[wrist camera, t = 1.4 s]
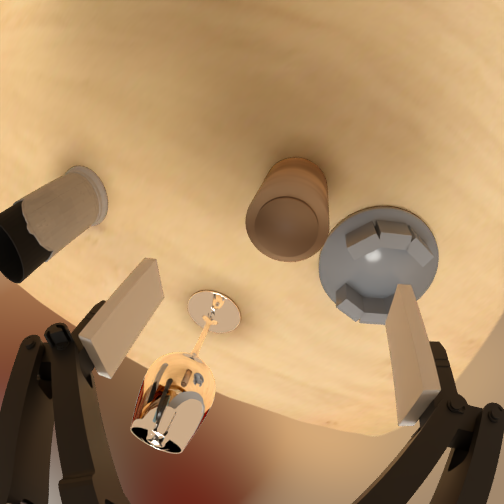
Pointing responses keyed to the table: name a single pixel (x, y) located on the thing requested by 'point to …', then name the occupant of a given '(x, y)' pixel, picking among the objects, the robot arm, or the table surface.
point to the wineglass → (182, 381)
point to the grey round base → (376, 261)
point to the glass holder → (49, 221)
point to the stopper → (290, 211)
